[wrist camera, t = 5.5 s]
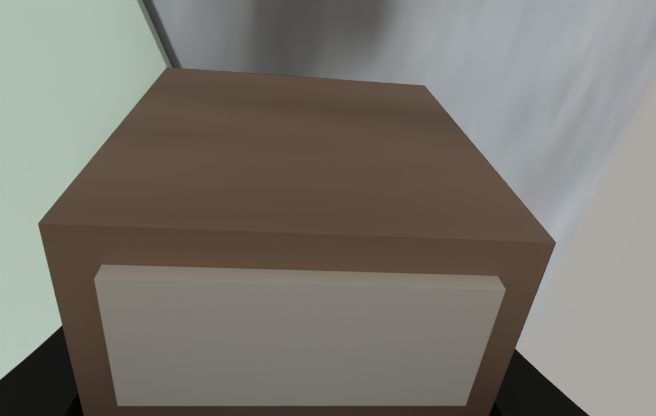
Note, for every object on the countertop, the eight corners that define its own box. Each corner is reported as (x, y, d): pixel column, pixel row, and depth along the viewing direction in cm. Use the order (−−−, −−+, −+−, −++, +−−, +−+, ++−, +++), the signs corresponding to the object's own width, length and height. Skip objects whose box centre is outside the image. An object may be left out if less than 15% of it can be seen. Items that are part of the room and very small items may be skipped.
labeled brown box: (366, 388, 13) (409, 640, 8) (189, 388, 12) (134, 656, 8) (424, 85, 9) (566, 254, 4) (166, 67, 8) (27, 237, 4)
